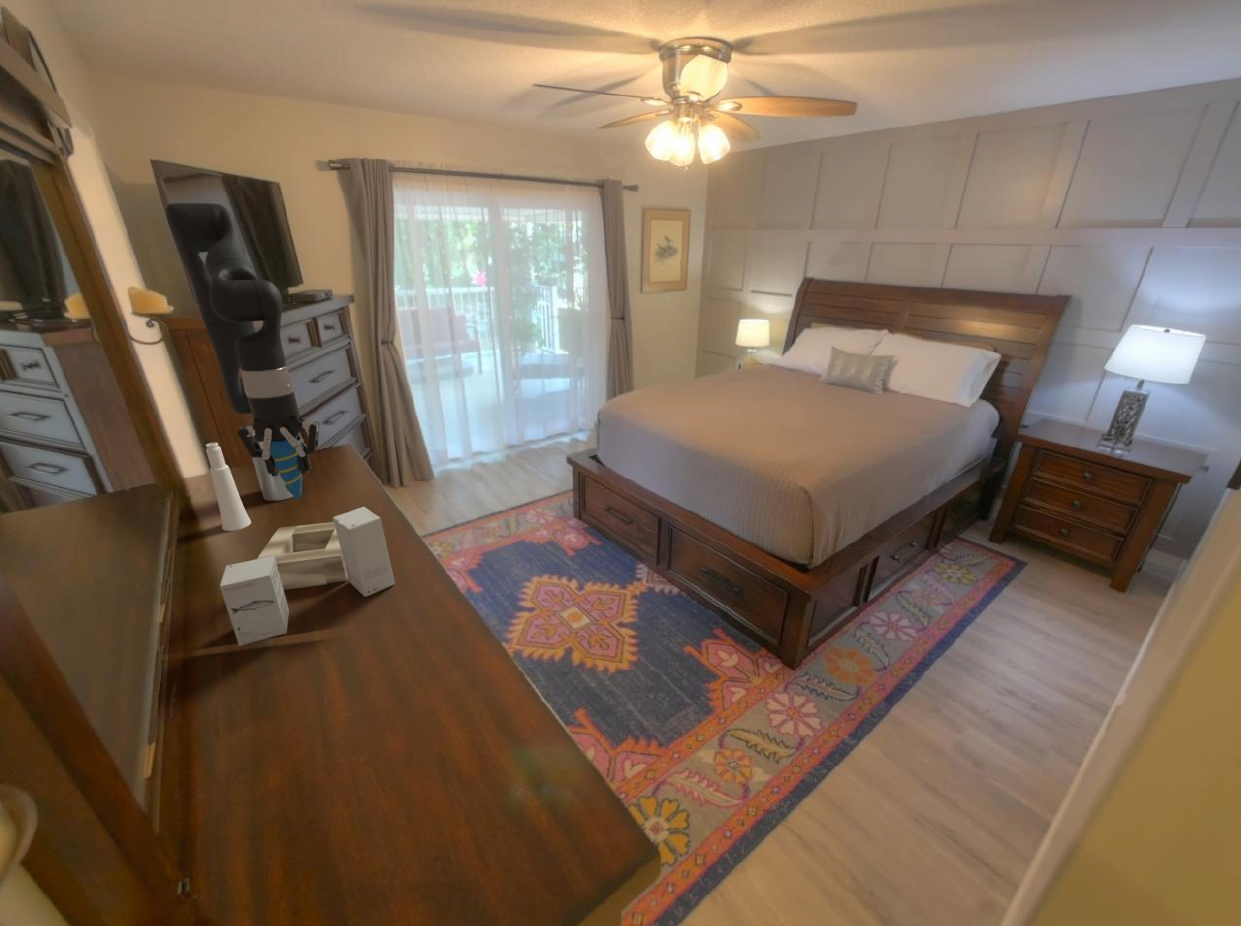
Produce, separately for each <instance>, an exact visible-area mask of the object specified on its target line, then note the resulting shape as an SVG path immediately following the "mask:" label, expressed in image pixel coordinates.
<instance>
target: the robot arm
mask: <svg viewBox="0 0 1241 926" xmlns="http://www.w3.org/2000/svg"><path fill="white" fill-rule="evenodd" d="M165 213H166V214H165V215H166V216H165V217H166V220H167V223H168V226H169V230H170V232H171V235H172V237H173V239H174V243H175V245H176V248H177V249H178V252H179V255H180V257H181V259H182V262H183V264H184V267H185V269H186V271H187V274H188V277H189V279H190V282H191V284H192V288H193V291H194V294H195V295H194V296H195V297H196V301H197V305H198V309H199V311H200V315H201V319H202V321H203V324H204V326H205V330H206V332H207V336H208V337H209V340H210V343H211V345H212V348H213V351H214V354H215V356H216V359H217V362H218V366H219V370H220V374H221V376H222V381H223V384H224V387H225V393H226V396H227V399H228V402H229V405H230V407H231V409H232V410H233V412H235V413H236V414H237V415H251V417H252V418H253V421H252V422H253V423H252V424H251V425H244V426H242V427H241V428H240V429H238V430H237V431H236V432H237V435H238V437H239V439H240V440H241V441H242V443H243V445H244V446H245V448H246V450H247V452H248V453H249V455H250V456H251V458H252V462H253V465H254V468H255V472H256V476H257V479H258V484H259V487H260V490H261V493H262V497H263V499H264V500H265V501H269V502H276V501H277V502H278V501H284V500H287V499H292V498H295V497H294V496H293V495H292V494H291V493H290V492H289V491H288V490H287V489H286V487H285V482H284V481H283V479H282V478H281V476H280V471H279V470H278V468H277V467H276V466H275V464H274V460H275V459H274V458H273V457H272V456H271V454H270V451H269V450H270V446H271V442H272V441H283V440H287V441H288V442H289V444H291V445H292V447H295V448H296V452H297V453H298V455H299V461H300V466H301V473H302V474H303V475H304V474H305V475H306V474H308V473H309V472H310V470H311V468H312V466H313V465H312V461H311V457H310V454H313V453H315V452H316V451H317V449H318V447H319V438H320V437H319V436H320V423H319V421H313V422H309V421H304V420H303V418H302V417H301V416H300V414H299V408H298V404H297V400H296V395H295V392H294V386H293V383H292V382H293V381H292V379H291V375H290V373H289V371H288V367H287V365H286V359H285V355H284V353H283V348H282V341H281V340H282V339H281V324H282V316H283V315H282V313H283V296H282V294H281V292H280V290H279V289H278V288H277V286H276V285H275V284H274V283H272V282H271V281H269V280H265V279H259V277H258V275H257V274H256V272H255V270H254V267H253V266H252V265H251V263H250V261H249V260H248V257H247V252H246V249H245V245H244V242H243V239H242V236H241V233H240V231H239V226H238V225H237V222H236V220H235V218H234V215H232V213H231V211H230V210H229V208H227V207H226V206H223V204H218V203H210V202H208V203H204V202H201V203H200V202H197V203H196V202H195V203H194V202H191V203H190V202H178V203H177V202H175V203H173V202H172V203H169V204H167V205H166V209H165ZM200 253H206V257H205V261H204V260H203V259H202V258H201V256H200ZM260 321H261V322H262V326H261V327H260V329H259V330H257V331H256V328H255V324H254V322H260ZM240 370H241V375H242V377H239V372H240ZM302 428H303V429H304V430H305V432H306V434H308V440H307V442H308V443H307V445H306V443H305V442H304V439H303V437H302V435H301V434H300V432H301V430H302ZM295 438H296V439H297V441H296V439H295ZM302 489H303V488H301V492H302V491H303V490H302Z"/></svg>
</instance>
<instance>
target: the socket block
mask: <svg viewBox="0 0 1241 926" xmlns="http://www.w3.org/2000/svg"><path fill="white" fill-rule="evenodd" d="M270 556H275V559H276V564H277V568H278V571H279V575H280V579H281V582H282V586H283V590H284V591H287V590H293V589H295V590H296V589H301V588H308V587H318V586H323V585H324V586H325V585H330V584H338V583H339V584H340V583H346V582H348V580H349V577H348V573H347V570H346V566H345V562H344V558H343V555H342V551H341V547H340V543H339V540H338V536H337V532H336V528H335V525H334V521H331V522H330V521H329V522H322V523H321V522H320V523H312V524H303V525H302V524H301V525H293V526H285V527H278V528H277V530H276V531H275V533H274V534H273V536H272V537H271V538H270V540H269V541H268V542H267V544H266V545H265V546H264V548H263V549H262V551H261V553H259V555H258V556H257V558H256V559H261V558H266V557H270Z"/></svg>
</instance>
